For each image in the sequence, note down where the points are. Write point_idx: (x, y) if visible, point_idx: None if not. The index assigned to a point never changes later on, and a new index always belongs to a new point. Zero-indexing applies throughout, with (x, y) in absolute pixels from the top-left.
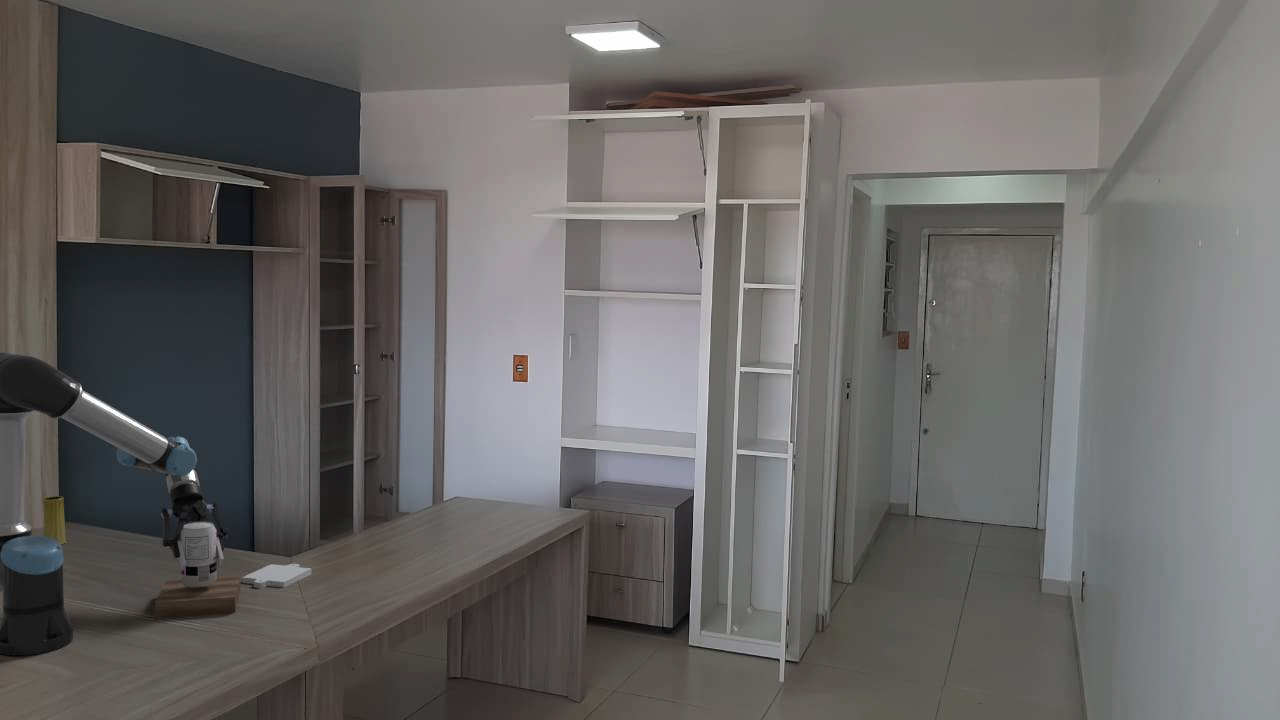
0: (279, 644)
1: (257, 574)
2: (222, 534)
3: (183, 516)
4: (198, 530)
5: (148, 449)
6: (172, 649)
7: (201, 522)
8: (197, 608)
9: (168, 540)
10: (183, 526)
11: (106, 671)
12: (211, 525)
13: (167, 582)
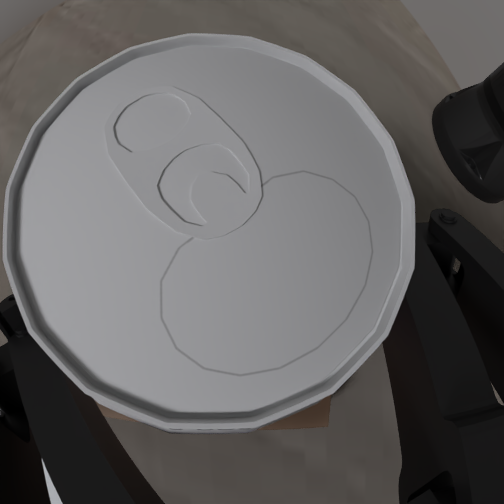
0: (85, 14)
1: (46, 482)
2: (4, 303)
3: (490, 454)
4: (213, 46)
5: None
6: (254, 27)
7: (170, 419)
8: None
9: (435, 214)
10: (411, 196)
11: (335, 7)
12: (37, 170)
13: (321, 403)
